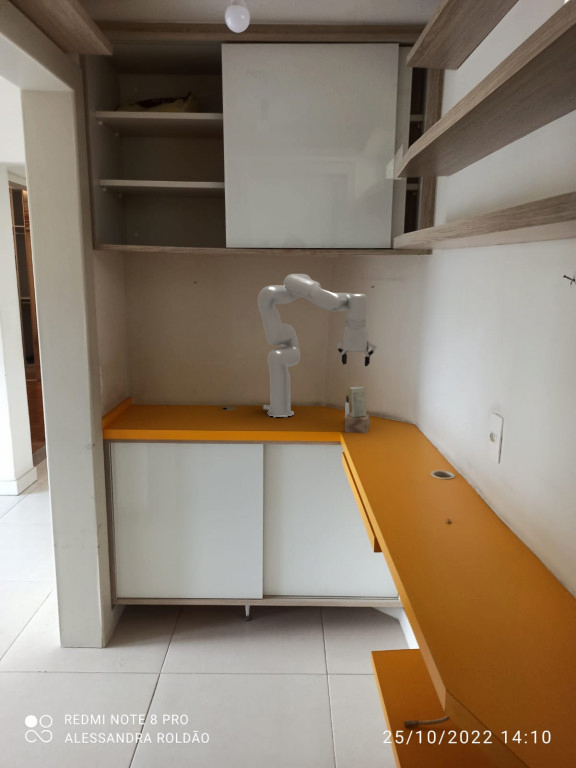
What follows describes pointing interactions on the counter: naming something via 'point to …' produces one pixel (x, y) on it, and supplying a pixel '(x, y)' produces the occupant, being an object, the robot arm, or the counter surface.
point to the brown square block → (357, 424)
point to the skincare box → (357, 401)
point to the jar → (347, 406)
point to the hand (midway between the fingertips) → (355, 364)
